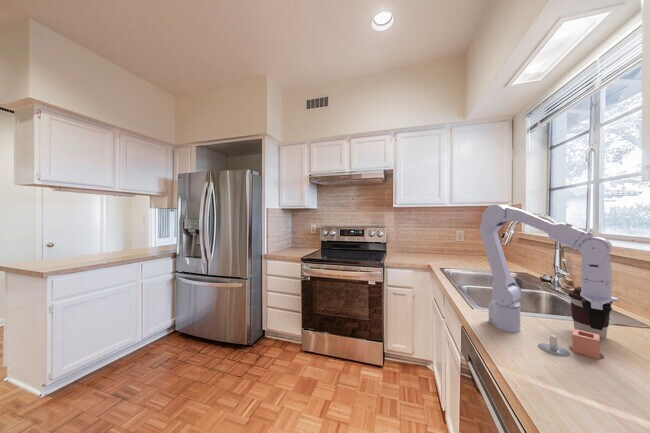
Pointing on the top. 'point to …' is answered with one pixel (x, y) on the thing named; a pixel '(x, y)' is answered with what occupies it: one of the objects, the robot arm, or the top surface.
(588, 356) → the hub
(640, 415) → the top surface
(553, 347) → the stand
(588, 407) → the top surface
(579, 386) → the top surface
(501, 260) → the robot arm
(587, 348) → the salmon square tube
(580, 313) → the coffee cup
